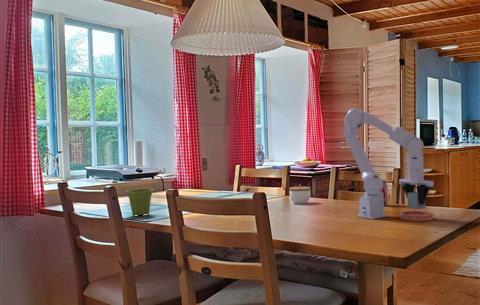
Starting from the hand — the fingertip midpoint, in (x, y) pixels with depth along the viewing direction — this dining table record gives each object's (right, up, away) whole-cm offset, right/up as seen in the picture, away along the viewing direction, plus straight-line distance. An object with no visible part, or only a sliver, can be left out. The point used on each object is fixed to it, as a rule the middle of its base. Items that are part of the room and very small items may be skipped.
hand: (416, 203), depth 180 cm
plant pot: (-113, -8, +28) cm, 116 cm away
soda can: (-3, -5, +36) cm, 37 cm away
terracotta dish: (0, -6, 0) cm, 6 cm away
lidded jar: (-38, -6, +51) cm, 64 cm away
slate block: (0, -2, 0) cm, 2 cm away
